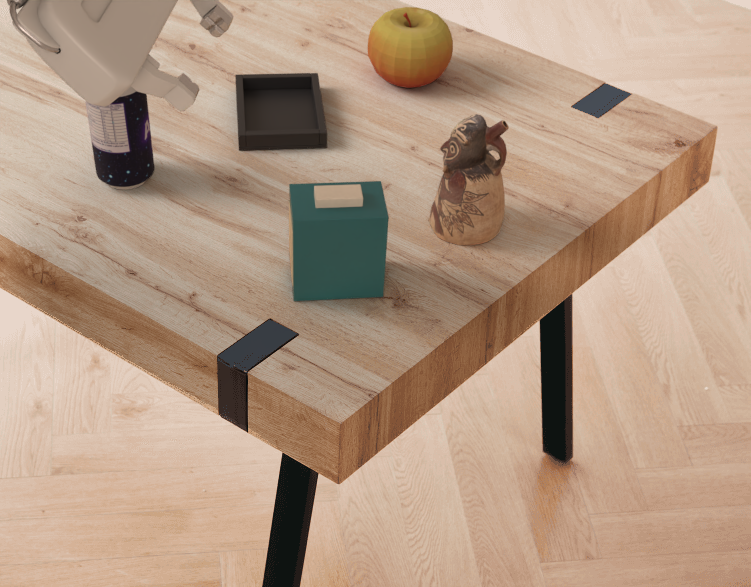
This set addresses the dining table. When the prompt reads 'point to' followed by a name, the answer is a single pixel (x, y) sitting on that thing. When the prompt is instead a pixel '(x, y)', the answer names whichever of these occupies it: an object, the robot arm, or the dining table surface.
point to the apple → (410, 46)
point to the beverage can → (122, 140)
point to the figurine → (471, 184)
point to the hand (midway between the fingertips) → (209, 63)
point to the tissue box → (337, 240)
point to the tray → (280, 111)
